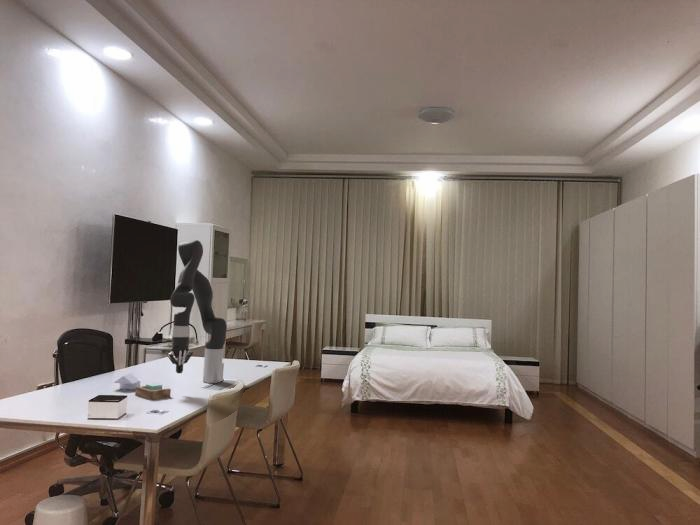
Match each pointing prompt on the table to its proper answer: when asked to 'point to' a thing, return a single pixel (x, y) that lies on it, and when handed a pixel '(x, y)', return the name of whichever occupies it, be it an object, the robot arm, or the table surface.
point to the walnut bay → (152, 393)
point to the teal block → (153, 386)
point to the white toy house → (128, 382)
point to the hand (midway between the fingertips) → (179, 373)
